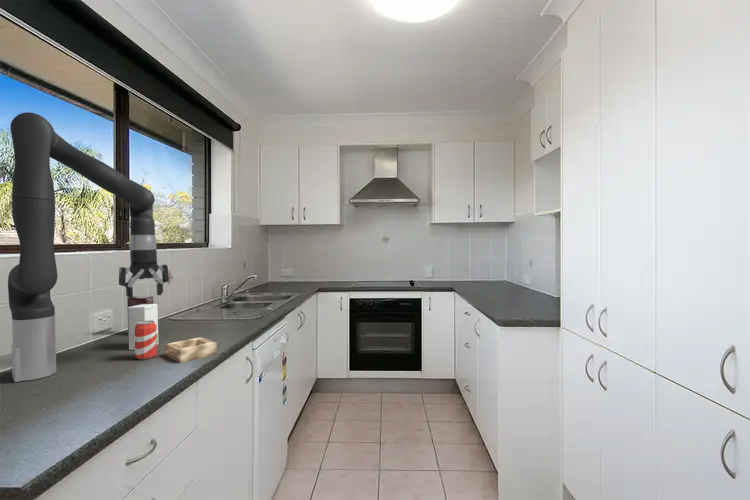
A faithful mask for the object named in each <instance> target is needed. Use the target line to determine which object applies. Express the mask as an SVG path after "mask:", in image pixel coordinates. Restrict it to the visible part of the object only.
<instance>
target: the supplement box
mask: <svg viewBox="0 0 750 500" xmlns="http://www.w3.org/2000/svg"><path fill="white" fill-rule="evenodd" d="M126 298H127V299H126V301H127V308H128V307H131V306H136V305H141V304H154V296H133V298H132V299H129V298H128V297H126ZM127 334H128V336H129V320H128V319H127Z"/></svg>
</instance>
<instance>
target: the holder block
mask: <svg viewBox="0 0 750 500" xmlns="http://www.w3.org/2000/svg"><path fill="white" fill-rule="evenodd" d="M217 354H218V342H215V341H213V340H210V339H209V338H205V337H201V336H200V337H195V338H190V339H184V340H180V341H174V342H170V343H165V356H166V357H168V358H170V359H171V360H173V361H176V362H178V363H180V364H182V363H185V362H186V361H187V362H190V361H194V360H199V359H202V358H207V357H212V356H214V355H217Z"/></svg>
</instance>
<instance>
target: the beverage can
mask: <svg viewBox="0 0 750 500" xmlns="http://www.w3.org/2000/svg"><path fill="white" fill-rule="evenodd" d="M154 322H155V321H141V322H137V323H136V324H137V325H136V327H135V350H134V358H136V359H138V360H141V361H142V360H149V359H150V360H151V359H153V358H154V357H155V356H157V354H158V344H157V325H156V324H155V323H154Z"/></svg>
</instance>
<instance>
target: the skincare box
mask: <svg viewBox="0 0 750 500" xmlns="http://www.w3.org/2000/svg"><path fill="white" fill-rule="evenodd" d="M158 310H159V309H158V303H153V304H141V305H136V306H131V307H128V306H127V321H128V320H129V335H128V350H131V351H135V327H136V325H137V324H136V323H137V322H141V321H155V322H154V323H155V324H156V325H157V345H159V320H158V319H159V318H158V316H159V315H158V313H159V312H158Z"/></svg>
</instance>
